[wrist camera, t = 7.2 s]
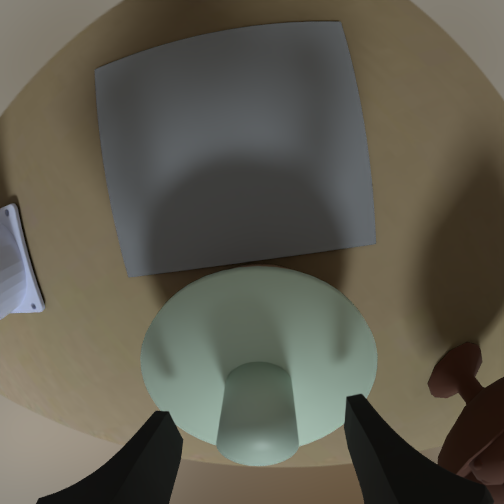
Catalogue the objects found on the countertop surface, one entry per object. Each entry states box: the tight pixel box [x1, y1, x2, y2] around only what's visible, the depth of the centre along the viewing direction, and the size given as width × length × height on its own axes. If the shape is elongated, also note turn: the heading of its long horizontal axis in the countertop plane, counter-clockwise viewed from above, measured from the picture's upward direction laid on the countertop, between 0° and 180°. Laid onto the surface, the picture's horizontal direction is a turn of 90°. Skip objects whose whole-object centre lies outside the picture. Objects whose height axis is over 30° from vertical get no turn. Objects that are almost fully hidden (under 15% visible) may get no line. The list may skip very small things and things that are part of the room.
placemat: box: [95, 22, 376, 277], centre depth 14 cm, size 14×13×1 cm
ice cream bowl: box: [428, 342, 504, 504], centre depth 11 cm, size 11×11×15 cm
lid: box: [141, 266, 377, 466], centre depth 11 cm, size 11×11×4 cm
